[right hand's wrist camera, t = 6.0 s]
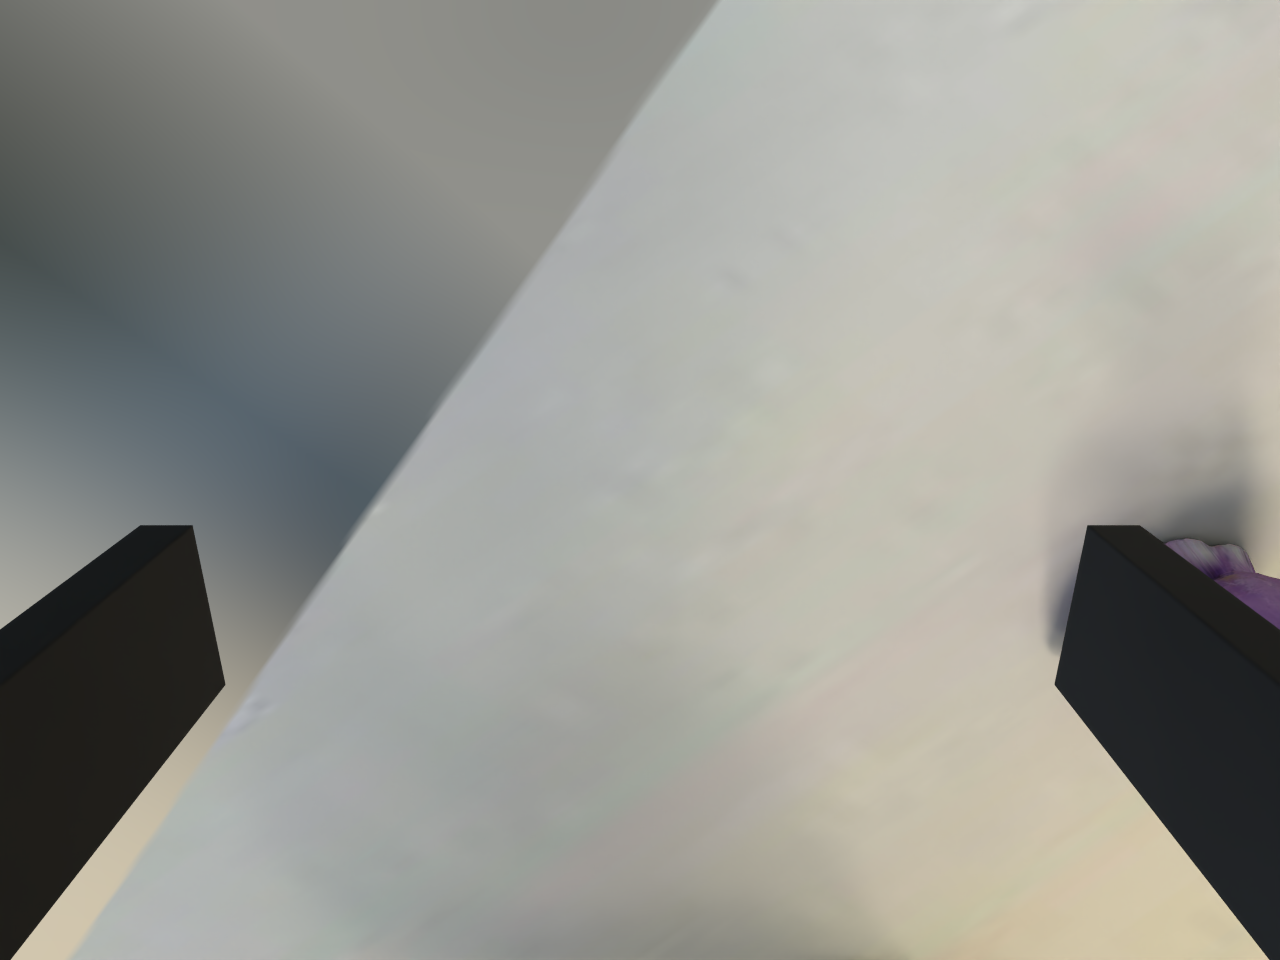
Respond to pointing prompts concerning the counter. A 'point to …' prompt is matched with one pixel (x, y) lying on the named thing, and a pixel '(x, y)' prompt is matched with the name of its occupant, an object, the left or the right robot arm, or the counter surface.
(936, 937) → the counter surface
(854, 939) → the counter surface
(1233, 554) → the figurine
